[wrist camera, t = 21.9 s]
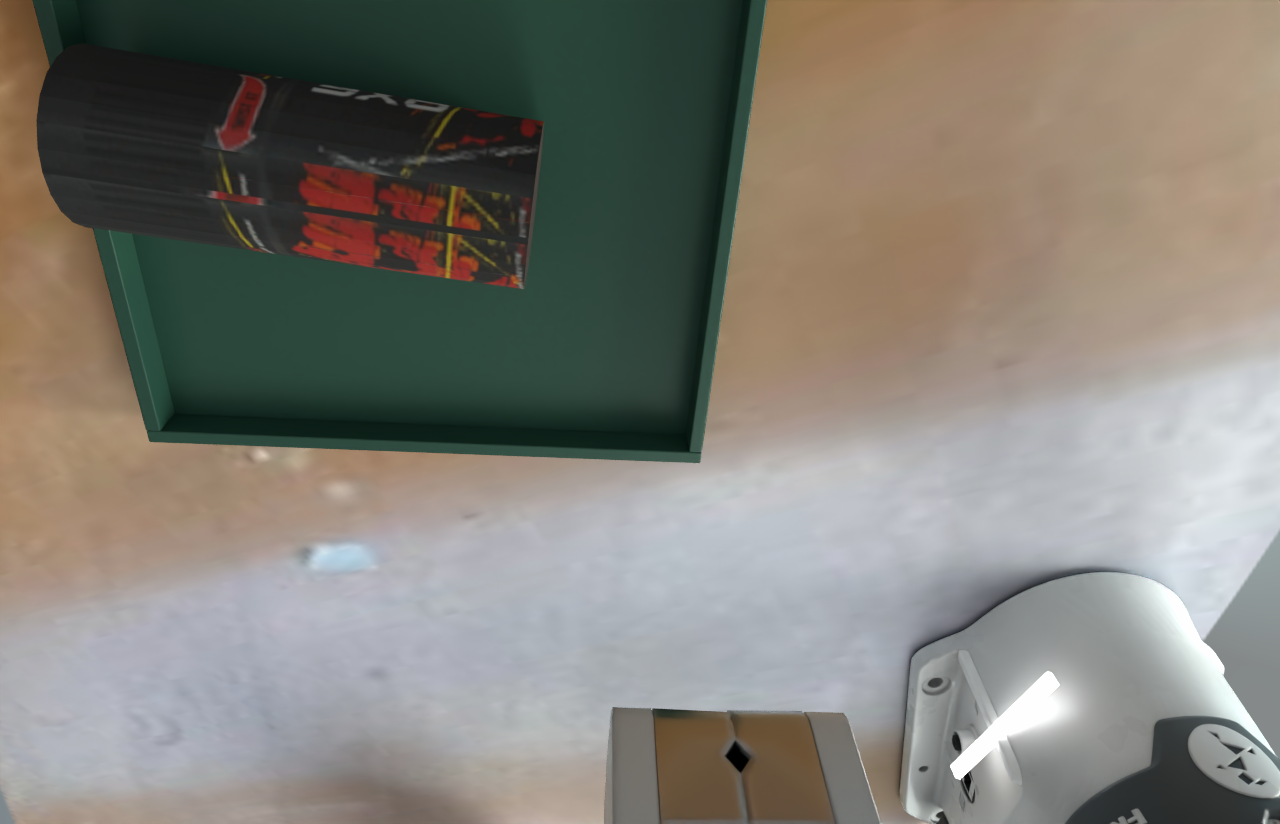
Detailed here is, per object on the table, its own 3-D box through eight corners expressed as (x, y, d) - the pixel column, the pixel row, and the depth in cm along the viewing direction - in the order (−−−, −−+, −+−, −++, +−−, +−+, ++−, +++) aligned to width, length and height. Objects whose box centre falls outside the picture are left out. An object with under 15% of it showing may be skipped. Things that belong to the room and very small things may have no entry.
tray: (695, 440, 39) (700, 463, 38) (169, 418, 37) (148, 442, 36) (775, -139, 28) (788, -143, 26) (12, -219, 25) (-29, -229, 24)
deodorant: (526, 288, 33) (128, 232, 31) (544, 137, 32) (138, 69, 30) (521, 289, 27) (33, 220, 25) (544, 104, 26) (40, 18, 24)
